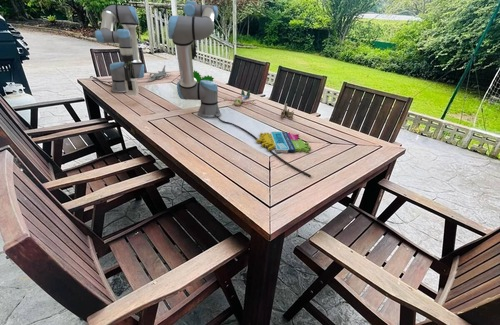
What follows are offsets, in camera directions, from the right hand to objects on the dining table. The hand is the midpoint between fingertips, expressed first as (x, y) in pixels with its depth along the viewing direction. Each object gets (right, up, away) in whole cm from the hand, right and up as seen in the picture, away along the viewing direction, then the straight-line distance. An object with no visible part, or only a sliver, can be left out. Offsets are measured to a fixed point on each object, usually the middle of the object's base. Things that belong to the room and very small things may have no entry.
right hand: (193, 57), depth 197 cm
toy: (+36, -28, +24) cm, 51 cm away
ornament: (-3, -8, +54) cm, 55 cm away
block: (-43, -29, -7) cm, 52 cm away
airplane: (-54, +10, +80) cm, 97 cm away
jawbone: (+69, -45, -4) cm, 83 cm away
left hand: (-43, -26, -9) cm, 51 cm away
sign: (+61, -68, -45) cm, 102 cm away
